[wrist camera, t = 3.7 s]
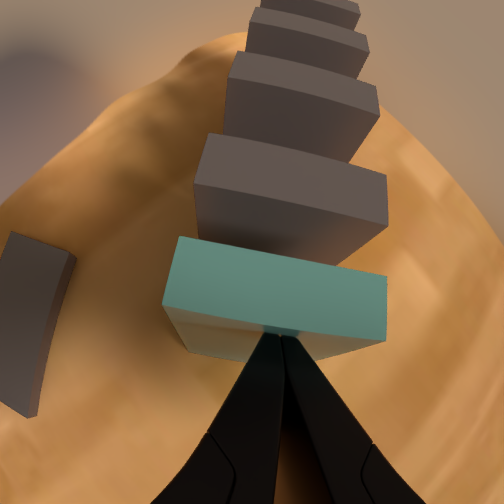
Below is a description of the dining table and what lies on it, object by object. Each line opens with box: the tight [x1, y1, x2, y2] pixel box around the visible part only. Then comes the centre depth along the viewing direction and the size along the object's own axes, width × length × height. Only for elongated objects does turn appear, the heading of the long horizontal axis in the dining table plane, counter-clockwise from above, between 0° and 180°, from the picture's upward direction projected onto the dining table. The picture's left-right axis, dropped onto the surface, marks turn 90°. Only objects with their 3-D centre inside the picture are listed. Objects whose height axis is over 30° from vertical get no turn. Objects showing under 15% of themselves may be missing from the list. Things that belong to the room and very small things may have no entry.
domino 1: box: [0, 231, 77, 419], centre depth 14 cm, size 10×5×2 cm, turn 166°
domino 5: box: [193, 133, 388, 266], centre depth 12 cm, size 2×5×10 cm, turn 81°
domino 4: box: [223, 51, 380, 163], centre depth 14 cm, size 2×5×10 cm, turn 81°
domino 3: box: [245, 7, 370, 79], centre depth 15 cm, size 2×5×10 cm, turn 81°
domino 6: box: [162, 236, 387, 363], centre depth 11 cm, size 2×5×10 cm, turn 81°
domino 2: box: [260, 0, 361, 31], centre depth 16 cm, size 2×5×10 cm, turn 81°
